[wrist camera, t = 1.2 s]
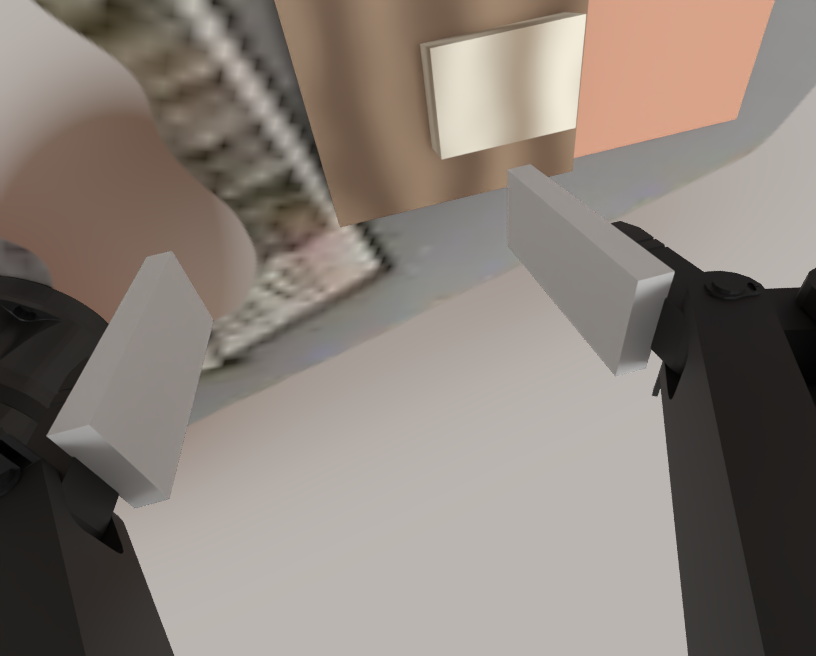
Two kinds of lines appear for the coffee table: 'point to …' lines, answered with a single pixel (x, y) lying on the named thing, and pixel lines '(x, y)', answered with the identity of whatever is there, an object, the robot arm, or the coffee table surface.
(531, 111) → the birch tile
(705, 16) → the terracotta mat
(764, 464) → the robot arm
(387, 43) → the block
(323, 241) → the coffee table surface
